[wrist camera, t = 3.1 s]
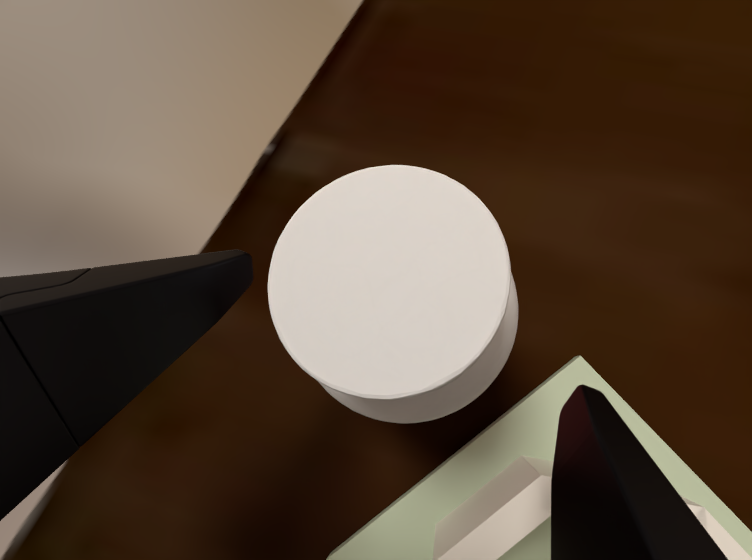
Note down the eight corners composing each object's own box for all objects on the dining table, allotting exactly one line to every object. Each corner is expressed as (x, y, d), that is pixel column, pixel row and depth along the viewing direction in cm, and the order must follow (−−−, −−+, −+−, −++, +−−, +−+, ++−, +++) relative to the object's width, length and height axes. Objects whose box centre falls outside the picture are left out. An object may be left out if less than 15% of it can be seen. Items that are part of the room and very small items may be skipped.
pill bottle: (510, 330, 16) (640, 243, 6) (427, 431, 15) (398, 546, 5) (411, 255, 18) (368, 85, 7) (334, 342, 17) (174, 291, 7)
